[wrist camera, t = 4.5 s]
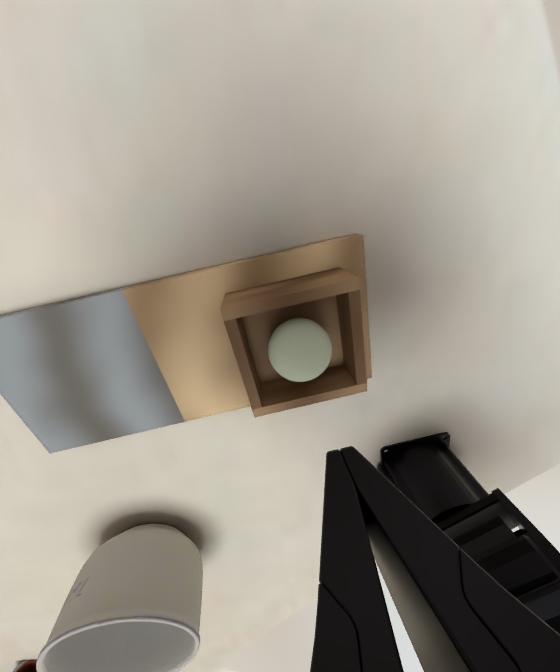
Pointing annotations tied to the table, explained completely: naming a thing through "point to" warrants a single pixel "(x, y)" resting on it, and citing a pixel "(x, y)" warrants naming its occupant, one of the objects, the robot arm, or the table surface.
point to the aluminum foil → (26, 666)
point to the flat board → (145, 349)
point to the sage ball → (299, 349)
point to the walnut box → (288, 303)
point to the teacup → (131, 607)
